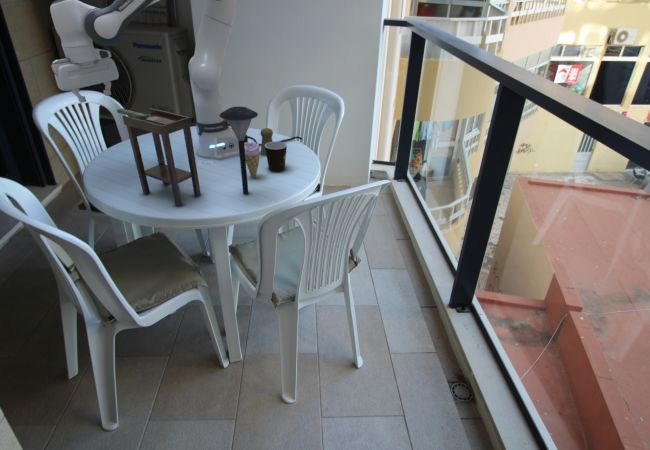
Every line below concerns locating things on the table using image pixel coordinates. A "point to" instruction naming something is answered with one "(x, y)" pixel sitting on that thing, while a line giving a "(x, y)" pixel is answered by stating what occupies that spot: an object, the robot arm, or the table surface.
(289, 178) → the table surface
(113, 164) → the table surface
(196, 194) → the stand
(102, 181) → the table surface
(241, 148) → the solar garden light
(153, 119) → the fork
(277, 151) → the coffee mug
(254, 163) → the ice cream cone
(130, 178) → the table surface
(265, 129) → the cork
